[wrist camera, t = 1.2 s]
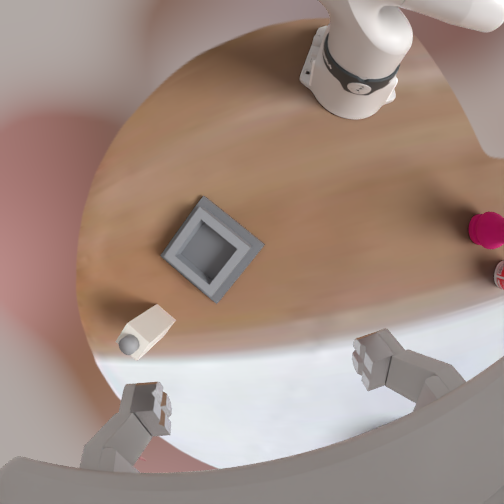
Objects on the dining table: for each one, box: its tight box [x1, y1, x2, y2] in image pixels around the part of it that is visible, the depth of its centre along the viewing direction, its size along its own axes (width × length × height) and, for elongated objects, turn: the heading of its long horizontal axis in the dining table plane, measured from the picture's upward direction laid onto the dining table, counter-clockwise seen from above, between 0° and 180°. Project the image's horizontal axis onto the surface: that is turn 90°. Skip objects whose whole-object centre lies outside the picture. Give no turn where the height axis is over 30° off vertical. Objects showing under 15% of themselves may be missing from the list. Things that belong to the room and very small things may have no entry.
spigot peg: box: [116, 304, 176, 361], centre depth 49 cm, size 5×5×14 cm
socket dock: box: [161, 196, 265, 304], centre depth 51 cm, size 14×14×4 cm
